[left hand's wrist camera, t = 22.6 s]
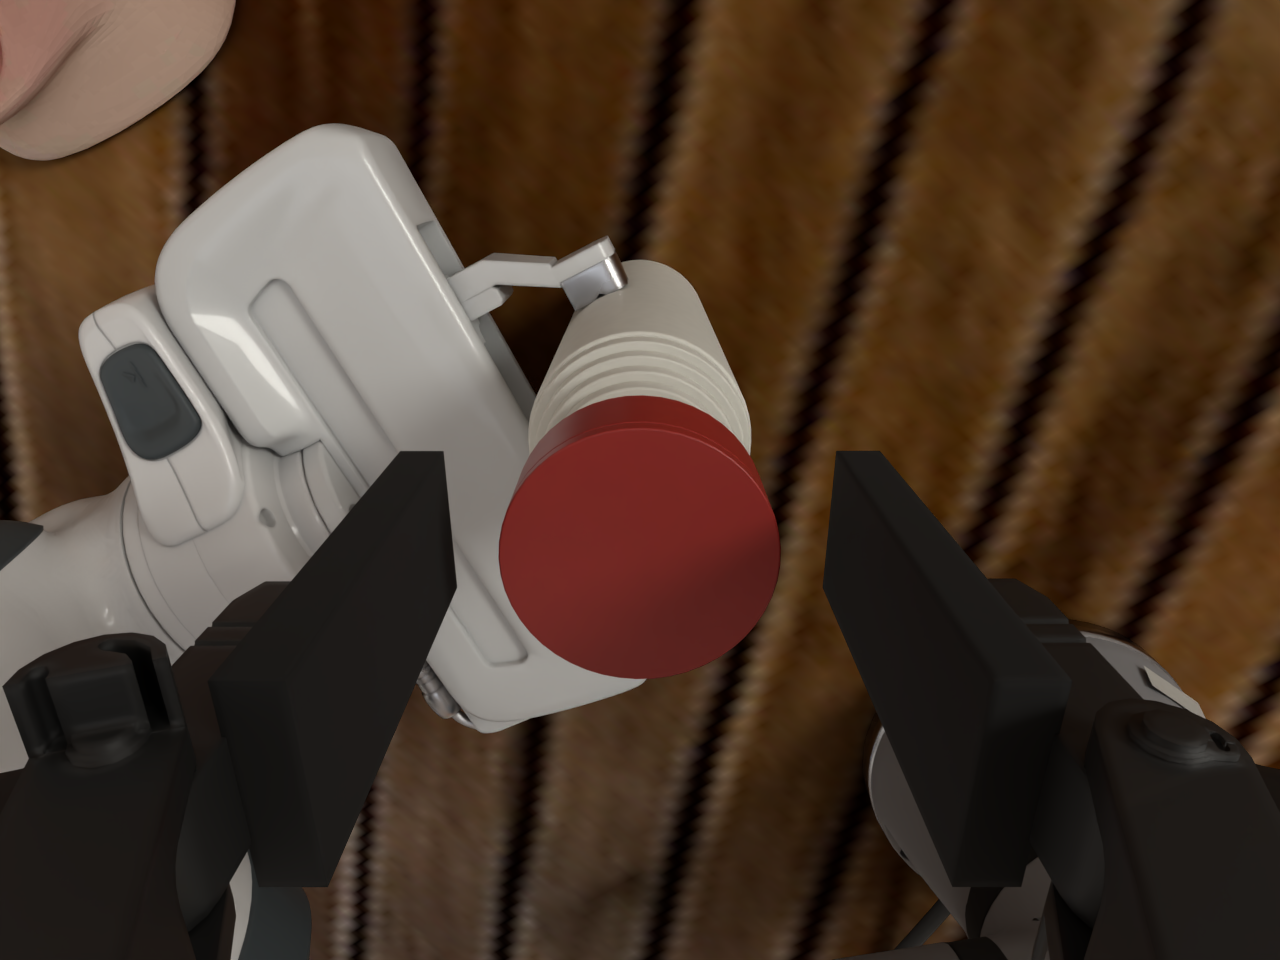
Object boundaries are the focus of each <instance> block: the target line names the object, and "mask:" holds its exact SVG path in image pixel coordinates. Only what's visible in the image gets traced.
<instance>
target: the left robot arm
mask: <svg viewBox="0 0 1280 960" xmlns="http://www.w3.org/2000/svg"><path fill="white" fill-rule="evenodd" d="M456 589H457V580H456V570H455V560H454V550H453V540H452V530H451V520H450V510H449V500H448V490H447V480H446V470H445V460H444V451H400V452H399V453H398V454H397V455H396V457H395V458H394V459H393V460H392V461H391V463H390V464H389V465H388V466H387V467H386V469H385V470H384V471H383V472H382V473H381V475H380V476H379V477H378V478H377V479H376V481H375V482H374V483H373V484H372V485H371V486H370V488H369V489H368V490H367V491H366V492H365V494H364V495H363V496H362V497H361V498H360V500H359V501H358V502H357V503H356V504H355V506H354V507H353V508H352V509H351V510H350V512H349V513H348V514H347V515H346V516H345V517H344V519H343V520H342V521H341V522H340V523H339V525H338V526H337V527H336V528H335V529H334V531H333V532H332V533H331V534H330V535H329V537H328V538H327V539H326V540H325V541H324V543H323V544H322V545H321V546H320V547H319V548H318V550H317V551H316V552H315V553H314V554H313V556H312V557H311V558H310V559H309V560H308V562H307V563H306V564H305V565H304V566H303V568H302V569H301V570H300V571H299V572H298V574H297V575H296V576H295V577H294V578H293V579H292V581H265V582H263V583H261V584H260V585H258V586H256V587H255V588H253V589H251V590H249V591H248V592H246V593H244V594H243V595H241V596H239V597H238V598H236V599H234V600H233V601H232V602H231V603H230V604H229V605H228V606H227V607H226V608H225V609H224V610H223V611H222V612H221V613H220V614H219V616H218V617H217V618H216V619H215V620H214V621H213V622H212V627H207V628H206V629H205V630H204V632H203V633H202V634H201V635H200V636H199V637H198V638H197V639H196V640H195V645H194V646H190V647H189V648H188V649H187V650H186V651H185V652H184V653H183V654H182V655H181V656H180V657H179V658H178V659H177V660H176V661H175V663H174V664H173V665H172V666H171V663H170V659H169V655H168V652H167V648H166V644H165V643H163V642H162V641H160V640H159V639H157V638H156V637H155V636H153V635H146V634H140V633H134V632H129V633H117V634H104V635H100V636H96V637H92V638H88V639H84V640H80V641H76V642H73V643H70V644H68V645H65V646H63V647H60V648H58V649H55V650H53V651H50V652H48V653H45V654H43V655H42V656H40V657H38V658H37V659H35V660H33V661H32V662H30V663H28V664H27V665H25V666H24V667H22V668H20V669H19V670H18V671H17V672H16V673H15V674H14V675H13V676H12V677H11V678H10V679H9V680H8V681H7V682H6V683H5V684H4V685H3V686H2V687H3V690H4V693H5V695H6V698H7V701H8V704H9V706H10V709H11V712H12V714H13V717H14V720H15V723H16V725H17V728H18V731H19V733H20V736H21V739H22V742H23V744H24V747H25V750H26V752H27V755H28V758H29V759H28V761H27V763H26V765H25V767H24V768H22V769H18V770H13V771H8V772H3V773H0V960H231V953H232V945H233V937H234V929H235V921H236V911H235V904H234V898H233V894H232V891H231V887H230V881H231V879H232V877H233V876H234V874H235V872H236V870H237V869H238V867H239V865H240V864H241V862H242V860H243V858H244V857H245V855H246V853H247V851H248V850H250V854H251V858H252V862H253V866H254V870H255V874H256V878H257V882H258V886H259V887H328V885H329V883H330V880H331V878H332V876H333V874H334V871H335V869H336V867H337V864H338V862H339V860H340V857H341V855H342V853H343V850H344V848H345V846H346V843H347V841H348V839H349V837H350V834H351V832H352V830H353V827H354V825H355V823H356V820H357V818H358V816H359V813H360V811H361V809H362V806H363V804H364V802H365V800H366V797H367V795H368V793H369V790H370V788H371V786H372V783H373V781H374V779H375V776H376V774H377V772H378V770H379V767H380V765H381V763H382V760H383V758H384V756H385V753H386V751H387V749H388V746H389V744H390V742H391V739H392V737H393V735H394V733H395V730H396V728H397V726H398V723H399V721H400V719H401V716H402V714H403V712H404V709H405V707H406V705H407V702H408V700H409V698H410V696H411V693H412V691H413V689H414V686H415V684H416V682H417V679H418V677H419V675H420V672H421V670H422V668H423V666H424V663H425V661H426V659H427V656H428V654H429V652H430V649H431V647H432V645H433V642H434V640H435V638H436V635H437V633H438V631H439V629H440V626H441V624H442V622H443V619H444V617H445V615H446V612H447V610H448V608H449V605H450V603H451V601H452V598H453V596H454V594H455V592H456ZM823 589H824V592H825V594H826V596H827V599H828V601H829V603H830V605H831V608H832V610H833V612H834V615H835V617H836V619H837V622H838V624H839V626H840V629H841V631H842V633H843V635H844V638H845V640H846V642H847V645H848V647H849V649H850V652H851V654H852V656H853V659H854V661H855V663H856V666H857V668H858V670H859V672H860V675H861V677H862V679H863V682H864V684H865V686H866V689H867V691H868V693H869V696H870V698H871V700H872V702H873V705H874V707H875V709H876V714H875V716H874V718H873V720H872V723H871V725H870V728H869V730H868V734H867V737H866V741H865V745H864V752H863V776H864V782H865V786H866V790H867V793H868V796H869V799H870V801H871V804H872V807H873V810H874V812H875V815H876V818H877V820H878V822H879V824H880V826H881V828H882V830H883V831H884V833H885V835H886V837H887V838H888V840H889V842H890V843H891V845H892V846H893V848H894V849H895V850H896V852H897V853H898V854H899V855H900V857H901V858H902V859H903V860H904V861H905V862H906V863H907V864H908V865H909V866H910V867H911V868H912V869H913V870H914V871H915V872H916V873H917V874H919V875H920V876H921V877H922V878H923V879H924V880H925V882H926V883H927V884H928V886H929V887H930V888H931V889H932V891H933V892H934V893H935V894H936V896H937V897H938V898H939V900H938V901H937V902H936V903H935V904H934V905H933V907H932V908H931V909H930V910H929V911H928V912H927V913H926V915H925V916H924V917H923V918H922V919H921V920H920V921H919V922H918V924H917V925H916V926H915V927H914V928H913V929H912V930H911V932H910V933H909V934H908V935H907V936H906V937H905V938H904V939H903V940H902V941H901V943H900V944H899V945H898V946H897V947H896V948H895V949H894V950H891V951H884V952H878V953H872V954H865V955H859V956H853V957H846V958H840V959H834V960H1280V769H1275V768H1270V767H1265V766H1261V765H1257V764H1255V763H1254V761H1253V759H1252V757H1251V756H1250V755H1249V754H1248V752H1247V751H1246V750H1245V749H1244V748H1243V746H1242V745H1241V744H1240V743H1239V741H1238V740H1237V739H1236V738H1234V737H1233V736H1232V735H1230V734H1229V733H1227V732H1226V731H1225V730H1223V729H1222V728H1220V727H1219V726H1218V725H1216V724H1215V723H1213V722H1211V721H1209V720H1207V719H1206V718H1205V716H1204V714H1203V712H1202V710H1201V708H1200V706H1199V704H1198V702H1196V701H1195V700H1193V699H1192V698H1190V697H1189V696H1187V695H1186V694H1185V693H1183V691H1182V690H1181V689H1180V687H1179V686H1178V684H1177V683H1176V682H1175V680H1174V679H1173V678H1172V677H1171V676H1170V675H1169V673H1168V672H1167V671H1166V670H1165V669H1164V668H1163V667H1162V666H1161V665H1160V664H1158V663H1157V662H1156V661H1155V660H1154V659H1153V658H1152V657H1151V656H1150V655H1149V654H1148V653H1147V652H1146V651H1145V650H1143V649H1142V648H1141V647H1140V646H1138V645H1137V644H1136V643H1134V642H1133V641H1131V640H1130V639H1128V638H1126V637H1124V636H1122V635H1121V634H1119V633H1117V632H1114V631H1112V630H1109V629H1107V628H1105V627H1101V626H1098V625H1095V624H1091V623H1087V622H1082V621H1076V620H1068V618H1067V617H1066V616H1065V615H1064V614H1063V613H1062V612H1061V611H1060V610H1059V609H1058V608H1057V607H1056V606H1055V605H1054V604H1053V603H1052V602H1051V600H1050V599H1049V598H1048V597H1046V596H1044V595H1042V594H1041V593H1039V592H1037V591H1036V590H1034V589H1032V588H1030V587H1029V586H1027V585H1025V584H1024V583H1022V582H1020V581H1018V580H1017V579H987V578H986V577H985V576H984V575H983V574H982V572H981V571H980V570H979V569H978V568H977V566H976V565H975V564H974V563H973V562H972V560H971V559H970V558H969V557H968V556H967V554H966V553H965V552H964V551H963V550H962V548H961V547H960V546H959V545H958V544H957V543H956V541H955V540H954V539H953V538H952V537H951V535H950V534H949V533H948V532H947V531H946V529H945V528H944V527H943V526H942V525H941V523H940V522H939V521H938V520H937V519H936V517H935V516H934V515H933V514H932V513H931V512H930V510H929V509H928V508H927V507H926V506H925V504H924V503H923V502H922V501H921V500H920V498H919V497H918V496H917V495H916V494H915V492H914V491H913V490H912V489H911V488H910V486H909V485H908V484H907V483H906V482H905V481H904V479H903V478H902V477H901V476H900V475H899V473H898V472H897V471H896V470H895V469H894V467H893V466H892V465H891V464H890V463H889V461H888V460H887V459H886V458H885V457H884V455H883V454H882V453H881V452H880V451H836V460H835V470H834V480H833V490H832V500H831V510H830V520H829V530H828V540H827V550H826V560H825V570H824V580H823ZM950 913H951V915H952V916H953V917H954V918H955V920H956V921H957V922H958V923H959V924H960V926H961V927H962V928H963V929H964V931H965V932H966V934H967V937H968V939H966V940H960V941H954V942H945V943H944V942H941V943H935V944H929V945H922V944H923V943H924V942H925V941H926V940H927V939H928V938H929V937H930V936H931V935H932V933H933V932H934V931H935V930H936V929H937V928H938V927H939V926H940V925H941V924H942V922H943V921H944V920H945V919H946V918H947V917H948V916H949V915H950ZM921 945H922V946H921Z"/></svg>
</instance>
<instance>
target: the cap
mask: <svg viewBox="0 0 1280 960" xmlns="http://www.w3.org/2000/svg"><path fill="white" fill-rule="evenodd" d="M780 557H781V546H780V537H779V530H778V527H777V523H776V519H775V516H774V513H773V510H772V508H771V505H770V503H769V500H768V497H767V495H766V492H765V490H764V487H763V484H762V482H761V479H760V476H759V474H758V472H757V469H756V467H755V465H754V462H753V460H752V459H751V457H750V455H749V454H748V452H747V450H746V449H745V447H744V446H743V445H742V444H741V442H740V441H739V440H738V439H737V437H736V436H735V435H734V434H733V433H732V432H731V431H730V430H729V429H727V428H726V427H725V426H724V425H723V424H722V423H721V422H719V421H718V420H716V419H715V418H713V417H712V416H710V415H709V414H707V413H705V412H703V411H701V410H700V409H698V408H696V407H694V406H691V405H688V404H685V403H683V402H680V401H677V400H672V399H668V398H663V397H657V396H645V395H638V396H622V397H617V398H611V399H606V400H603V401H600V402H596V403H593V404H591V405H588V406H586V407H584V408H582V409H579V410H577V411H575V412H574V413H572V414H571V415H569V416H567V417H566V418H564V419H563V420H561V421H560V422H559V423H558V424H556V425H555V426H554V427H553V428H552V429H550V430H549V431H548V432H547V433H546V435H545V436H544V437H543V438H542V439H541V440H540V441H539V442H538V444H537V445H536V447H535V448H534V449H533V451H532V452H531V454H530V455H529V457H528V459H527V461H526V463H525V465H524V467H523V469H522V472H521V474H520V477H519V480H518V482H517V485H516V487H515V490H514V493H513V495H512V498H511V500H510V503H509V506H508V508H507V511H506V514H505V517H504V520H503V523H502V527H501V532H500V538H499V555H498V559H499V567H500V575H501V579H502V582H503V586H504V590H505V592H506V595H507V597H508V599H509V602H510V604H511V606H512V608H513V609H514V611H515V613H516V614H517V616H518V618H519V619H520V621H521V622H522V623H523V624H524V626H525V627H526V628H527V629H528V631H529V632H530V633H531V634H532V635H533V636H534V637H535V638H536V639H537V640H538V641H539V642H540V643H541V644H542V645H544V646H545V647H546V648H548V649H549V650H550V651H552V652H553V653H554V654H556V655H557V656H559V657H561V658H563V659H564V660H566V661H568V662H570V663H572V664H574V665H576V666H579V667H581V668H583V669H585V670H589V671H592V672H595V673H598V674H602V675H607V676H612V677H617V678H628V679H654V678H661V677H668V676H673V675H677V674H681V673H684V672H688V671H691V670H693V669H696V668H698V667H701V666H703V665H705V664H707V663H709V662H711V661H713V660H715V659H717V658H719V657H720V656H722V655H723V654H725V653H726V652H727V651H729V650H730V649H732V648H733V647H734V646H735V645H736V644H738V643H739V642H740V641H741V640H742V639H743V638H744V637H745V636H746V635H747V634H748V633H749V632H750V631H751V630H752V628H753V627H754V626H755V625H756V624H757V622H758V621H759V619H760V618H761V616H762V615H763V613H764V612H765V610H766V608H767V606H768V604H769V602H770V600H771V598H772V595H773V592H774V589H775V586H776V583H777V580H778V575H779V569H780Z"/></svg>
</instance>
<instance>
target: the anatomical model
mask: <svg viewBox="0 0 1280 960" xmlns="http://www.w3.org/2000/svg"><path fill="white" fill-rule="evenodd" d="M235 3H236V0H0V147H1V148H3V149H4V150H6V151H8V152H10V153H12V154H14V155H16V156H19V157H22V158H26V159H31V160H42V161H43V160H53V159H58V158H62V157H65V156H68V155H71V154H74V153H76V152H79V151H82V150H85V149H88V148H90V147H91V146H93V145H95V144H97V143H99V142H101V141H103V140H105V139H107V138H109V137H111V136H113V135H115V134H117V133H119V132H121V131H122V130H124V129H125V128H127V127H129V126H130V125H132V124H134V123H135V122H137V121H139V120H140V119H142V118H143V117H145V116H146V115H148V114H149V113H151V112H152V111H153V110H155V109H156V108H158V107H159V106H161V105H162V104H164V103H165V102H166V101H168V100H169V99H170V98H172V97H173V96H174V95H176V94H177V93H178V92H179V91H181V90H182V89H183V88H184V87H186V86H187V85H188V84H189V83H190V82H191V81H192V80H193V79H194V78H196V77H197V76H198V75H199V74H200V73H201V72H202V71H203V70H204V69H205V68H206V66H207V65H208V64H209V63H210V62H211V61H212V60H213V58H214V57H215V55H216V54H217V52H218V51H219V50H220V48H221V46H222V44H223V42H224V41H225V39H226V36H227V34H228V31H229V29H230V26H231V22H232V18H233V13H234V9H235Z"/></svg>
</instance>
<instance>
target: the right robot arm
mask: <svg viewBox="0 0 1280 960" xmlns="http://www.w3.org/2000/svg"><path fill="white" fill-rule="evenodd" d="M628 280H629V279H628V276H627V274H626V272H625V270H624V268H623V266H622V264H621V261H620V259H619V257H618V255H617V253H616V251H615V249H614V247H613V245H612V243H611V241H610V239H609V237H608V236H605V237H603V238H600V239H598V240H596V241H594V242H592V243H590V244H588V245H587V246H585V247H583V248H581V249H579V250H577V251H575V252H573V253H571V254H569V255H567V256H565V257H563V258H562V259H560V260H557V259H556V257H549V256H534V255H519V254H505V253H493V254H491V255H489V256H487V257H485V258H483V259H481V260H480V261H478V262H476V263H474V264H472V265H470V266H468V267H466V268H464V266H463V265H462V263H461V261H460V259H459V257H458V256H457V254H456V252H455V250H454V249H453V247H452V245H451V243H450V241H449V240H448V238H447V236H446V234H445V233H444V231H443V229H442V227H441V225H440V224H439V222H438V220H437V218H436V217H435V215H434V213H433V211H432V209H431V208H430V206H429V204H428V202H427V201H426V199H425V197H424V195H423V194H422V192H421V190H420V188H419V186H418V185H417V183H416V181H415V179H414V178H413V176H412V174H411V172H410V170H409V169H408V167H407V165H406V163H405V161H404V160H403V158H402V156H401V154H400V152H399V151H398V149H397V147H396V146H395V144H394V143H393V142H392V141H391V140H390V139H389V138H387V137H386V136H384V135H381V134H378V133H375V132H372V131H369V130H366V129H363V128H359V127H355V126H351V125H346V124H322V125H319V126H315V127H312V128H310V129H308V130H306V131H303V132H302V133H300V134H298V135H296V136H295V137H293V138H291V139H289V140H288V141H286V142H285V143H283V144H282V145H280V146H279V147H277V148H276V149H274V150H273V151H271V152H270V153H268V154H267V155H265V156H264V157H262V158H261V159H259V160H258V161H256V162H255V163H254V164H252V165H251V166H250V167H248V168H247V169H245V170H244V171H243V172H241V173H240V174H239V175H237V176H236V177H235V178H233V179H232V180H231V181H230V182H228V183H227V184H226V185H225V186H223V187H222V188H221V189H219V190H218V191H217V192H216V193H215V194H213V195H212V196H211V197H210V198H209V199H208V200H206V201H205V202H204V203H203V204H202V205H201V206H199V207H198V208H197V209H196V210H195V211H194V212H193V213H192V214H190V215H189V216H188V217H187V218H186V219H185V220H184V221H183V222H182V223H181V224H180V225H179V226H178V227H177V228H176V230H175V231H174V232H173V233H172V235H171V236H170V237H169V239H168V240H167V242H166V243H165V245H164V247H163V249H162V251H161V253H160V256H159V258H158V262H157V265H156V271H155V285H151V286H148V287H145V288H143V289H140V290H138V291H135V292H133V293H130V294H128V295H125V296H123V297H121V298H119V299H117V300H115V301H113V302H111V303H109V304H107V305H106V306H104V307H102V308H100V309H98V310H97V311H95V312H93V313H92V314H90V315H89V316H88V317H87V318H85V320H84V321H83V322H82V323H81V325H80V328H79V343H80V347H81V351H82V354H83V357H84V359H85V362H86V364H87V367H88V369H89V371H90V374H91V376H92V378H93V381H94V383H95V385H96V388H97V390H98V392H99V395H100V397H101V400H102V402H103V405H104V407H105V409H106V412H107V414H108V417H109V420H110V422H111V425H112V427H113V430H114V432H115V435H116V438H117V441H118V443H119V446H120V449H121V452H122V455H123V457H124V461H125V464H126V467H127V470H128V473H129V476H128V477H127V478H126V479H125V480H124V481H123V482H122V483H121V484H120V485H119V486H118V488H116V489H115V490H114V491H113V492H111V493H109V494H107V495H103V496H96V497H90V498H85V499H80V500H77V501H73V502H70V503H67V504H64V505H61V506H59V507H57V508H55V509H53V510H51V511H49V512H47V513H45V514H43V515H41V516H39V517H37V518H36V519H34V520H32V521H30V522H21V521H9V520H0V773H3V772H8V771H13V770H18V769H22V768H24V767H25V765H26V763H27V761H28V759H29V758H28V755H27V752H26V750H25V747H24V744H23V742H22V739H21V736H20V733H19V731H18V728H17V725H16V723H15V720H14V717H13V714H12V712H11V709H10V706H9V704H8V701H7V698H6V695H5V693H4V690H3V687H2V686H3V685H4V684H5V683H6V682H7V681H8V680H9V679H10V678H11V677H12V676H13V675H14V674H15V673H16V672H17V671H18V670H19V669H20V668H22V667H24V666H25V665H27V664H28V663H30V662H32V661H33V660H35V659H37V658H38V657H40V656H42V655H43V654H45V653H48V652H50V651H53V650H55V649H58V648H60V647H63V646H65V645H68V644H70V643H73V642H76V641H80V640H84V639H88V638H92V637H96V636H100V635H104V634H117V633H129V632H134V633H140V634H146V635H153V636H155V637H156V638H157V639H159V640H160V641H162V642H163V643H165V644H166V648H167V652H168V655H169V659H170V663H171V666H172V665H173V664H174V663H175V661H176V660H177V659H178V658H179V657H180V656H181V655H182V654H183V653H184V652H185V651H186V650H187V649H188V648H189V647H190V646H194V645H195V640H196V639H197V638H198V637H199V636H200V635H201V634H202V633H203V632H204V630H205V629H206V628H207V627H212V622H213V621H214V620H215V619H216V618H217V617H218V616H219V614H220V613H221V612H222V611H223V610H224V609H225V608H226V607H227V606H228V605H229V604H230V603H231V602H232V601H233V600H234V599H236V598H238V597H239V596H241V595H243V594H244V593H246V592H248V591H249V590H251V589H253V588H255V587H256V586H258V585H260V584H261V583H263V582H265V581H292V579H293V578H294V577H295V576H296V575H297V574H298V572H299V571H300V570H301V569H302V568H303V566H304V565H305V564H306V563H307V562H308V560H309V559H310V558H311V557H312V556H313V554H314V553H315V552H316V551H317V550H318V548H319V547H320V546H321V545H322V544H323V543H324V541H325V540H326V539H327V538H328V537H329V535H330V534H331V533H332V532H333V531H334V529H335V528H336V527H337V526H338V525H339V523H340V522H341V521H342V520H343V519H344V517H345V516H346V515H347V514H348V513H349V512H350V510H351V509H352V508H353V507H354V506H355V504H356V503H357V502H358V501H359V500H360V498H361V497H362V496H363V495H364V494H365V492H366V491H367V490H368V489H369V488H370V486H371V485H372V484H373V483H374V482H375V481H376V479H377V478H378V477H379V476H380V475H381V473H382V472H383V471H384V470H385V469H386V467H387V466H388V465H389V464H390V463H391V461H392V460H393V459H394V458H395V457H396V455H397V454H398V453H399V452H400V451H444V460H445V470H446V480H447V490H448V500H449V510H450V520H451V530H452V540H453V550H454V560H455V570H456V580H457V589H456V592H455V594H454V596H453V598H452V601H451V603H450V605H449V608H448V610H447V612H446V615H445V617H444V619H443V622H442V624H441V626H440V629H439V631H438V633H437V635H436V638H435V640H434V642H433V645H432V647H431V649H430V652H429V654H428V656H427V659H426V661H425V663H424V666H423V668H422V670H421V672H420V675H419V677H418V679H417V682H416V683H417V685H418V686H419V688H420V689H421V691H422V695H423V697H424V699H425V701H426V702H427V704H428V705H429V706H430V707H431V709H432V710H433V711H434V712H435V713H436V714H437V715H439V716H440V717H441V718H443V719H447V718H450V717H452V718H453V719H454V720H456V721H457V722H459V723H460V724H462V725H464V726H467V727H469V728H472V729H476V730H478V731H479V732H481V733H493V732H498V731H501V730H503V729H506V728H508V727H511V726H513V725H516V724H518V723H520V722H523V721H525V720H528V719H530V718H534V717H539V716H543V715H547V714H552V713H556V712H560V711H564V710H568V709H571V708H575V707H578V706H582V705H585V704H589V703H592V702H595V701H599V700H602V699H605V698H608V697H611V696H614V695H617V694H620V693H623V692H626V691H628V690H631V689H633V688H635V687H637V686H639V685H641V684H642V683H643V682H644V681H645V680H646V679H628V678H617V677H612V676H607V675H602V674H598V673H595V672H592V671H589V670H585V669H583V668H581V667H579V666H576V665H574V664H572V663H570V662H568V661H566V660H564V659H563V658H561V657H559V656H557V655H556V654H554V653H553V652H552V651H550V650H549V649H548V648H546V647H545V646H544V645H542V644H541V643H540V642H539V641H538V640H537V639H536V638H535V637H534V636H533V635H532V634H531V633H530V632H529V631H528V629H527V628H526V627H525V626H524V624H523V623H522V622H521V621H520V619H519V618H518V616H517V614H516V613H515V611H514V609H513V608H512V606H511V604H510V602H509V599H508V597H507V595H506V592H505V590H504V586H503V582H502V579H501V575H500V567H499V559H498V555H499V538H500V532H501V527H502V523H503V520H504V517H505V514H506V511H507V508H508V506H509V503H510V500H511V498H512V495H513V493H514V490H515V487H516V485H517V482H518V480H519V477H520V474H521V472H522V469H523V467H524V465H525V463H526V461H527V459H528V457H529V444H528V427H529V421H530V415H531V411H532V408H533V404H534V401H535V399H536V394H535V393H534V391H533V389H532V387H531V385H530V384H529V382H528V380H527V378H526V377H525V375H524V373H523V371H522V369H521V368H520V366H519V364H518V362H517V361H516V359H515V357H514V355H513V353H512V352H511V350H510V348H509V346H508V345H507V343H506V341H505V339H504V337H503V336H502V334H501V332H500V330H499V329H498V327H497V325H496V323H495V321H494V320H493V318H492V316H491V314H490V313H489V311H491V310H493V309H495V308H497V307H499V306H501V305H502V304H503V303H504V302H505V301H506V300H507V299H508V298H509V297H510V296H511V295H512V293H513V288H512V286H511V285H513V286H534V287H555V288H561V287H562V288H563V289H564V291H565V293H566V295H567V297H568V298H569V300H570V302H571V304H572V306H573V308H574V309H575V311H578V310H580V309H582V308H584V307H586V306H588V305H590V304H591V303H592V302H594V301H595V300H596V299H597V297H598V295H599V294H605V295H607V294H610V293H613V292H615V291H617V290H619V289H621V288H623V287H624V286H625V285H627V284H628ZM461 708H462V709H463V711H464V712H465V713H466V714H465V713H464V712H462V711H461V710H460V709H461ZM230 887H231V891H232V894H233V898H234V904H235V911H236V921H235V929H234V937H233V945H232V953H231V960H309V954H310V941H311V910H310V905H309V901H308V899H307V896H306V894H305V892H304V890H303V889H302V887H259V886H258V882H257V878H256V874H255V870H254V866H253V862H252V858H251V854H250V850H248V851H247V853H246V855H245V857H244V858H243V860H242V862H241V864H240V865H239V867H238V869H237V870H236V872H235V874H234V876H233V877H232V879H231V881H230Z"/></svg>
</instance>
